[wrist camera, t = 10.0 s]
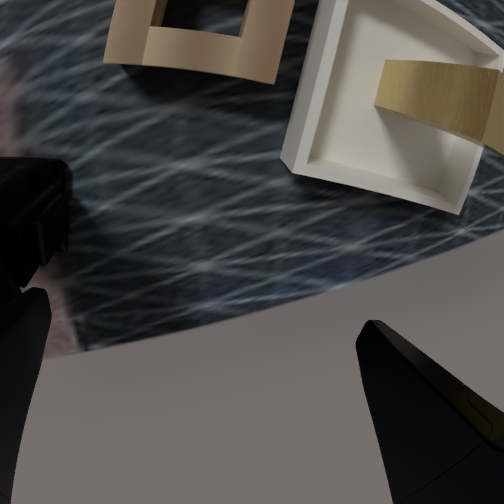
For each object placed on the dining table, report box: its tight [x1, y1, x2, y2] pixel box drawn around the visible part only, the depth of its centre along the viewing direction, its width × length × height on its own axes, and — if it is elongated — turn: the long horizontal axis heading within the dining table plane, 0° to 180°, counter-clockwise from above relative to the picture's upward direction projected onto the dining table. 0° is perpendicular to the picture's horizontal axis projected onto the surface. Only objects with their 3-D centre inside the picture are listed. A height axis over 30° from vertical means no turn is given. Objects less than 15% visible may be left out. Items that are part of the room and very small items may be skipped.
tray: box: [280, 0, 504, 215], centre depth 15 cm, size 12×12×3 cm
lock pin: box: [374, 59, 504, 157], centre depth 12 cm, size 3×3×9 cm
